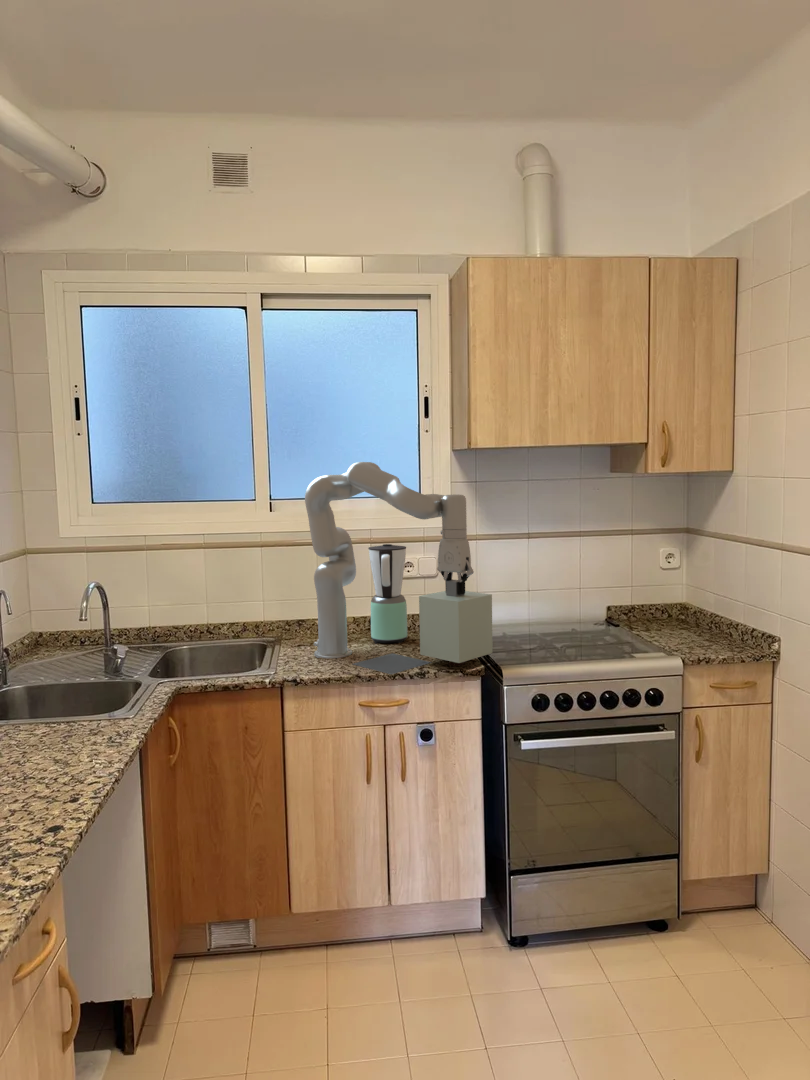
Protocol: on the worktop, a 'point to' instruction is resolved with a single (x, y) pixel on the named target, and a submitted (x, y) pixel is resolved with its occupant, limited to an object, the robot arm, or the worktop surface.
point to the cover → (455, 624)
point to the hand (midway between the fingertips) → (455, 592)
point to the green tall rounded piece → (388, 594)
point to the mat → (391, 663)
